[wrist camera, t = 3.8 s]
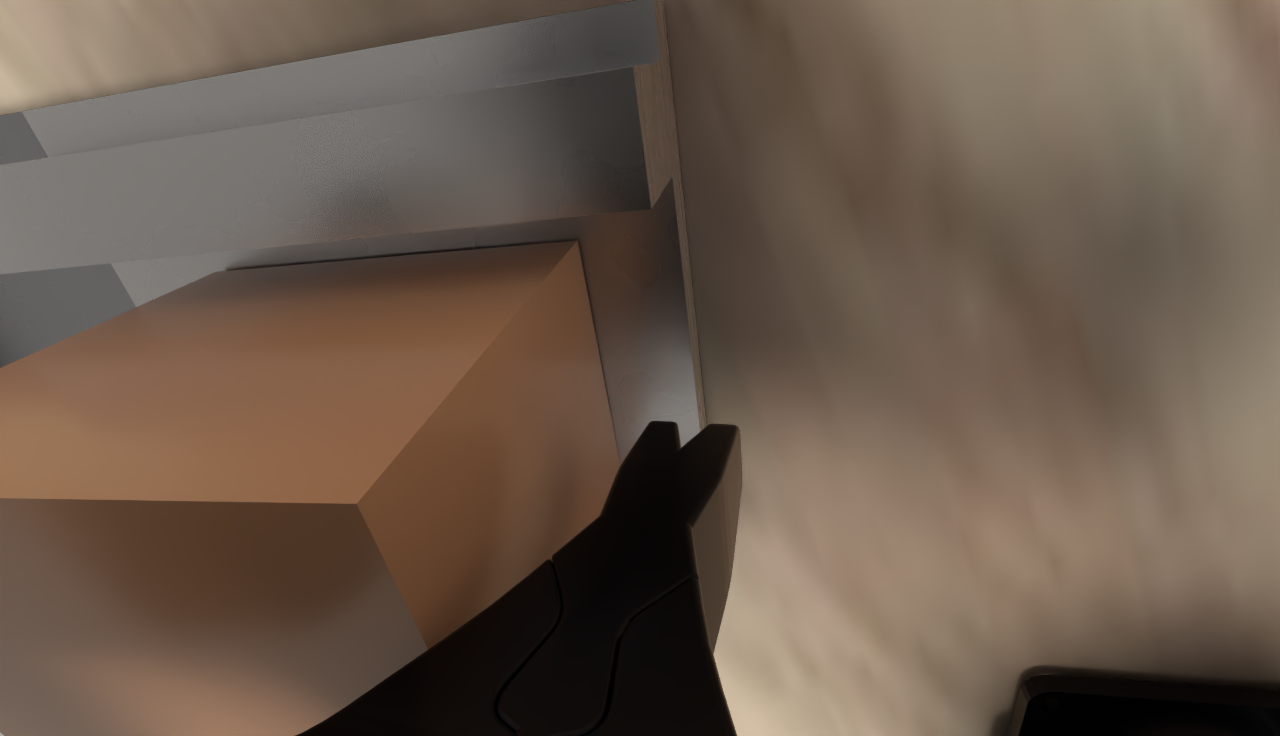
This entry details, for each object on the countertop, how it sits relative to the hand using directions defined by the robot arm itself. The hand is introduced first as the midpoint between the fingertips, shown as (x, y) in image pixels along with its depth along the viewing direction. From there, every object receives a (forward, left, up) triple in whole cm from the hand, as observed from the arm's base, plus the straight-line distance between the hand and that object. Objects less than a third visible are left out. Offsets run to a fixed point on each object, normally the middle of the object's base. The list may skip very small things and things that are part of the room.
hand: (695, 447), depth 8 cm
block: (+5, 0, -2) cm, 6 cm away
